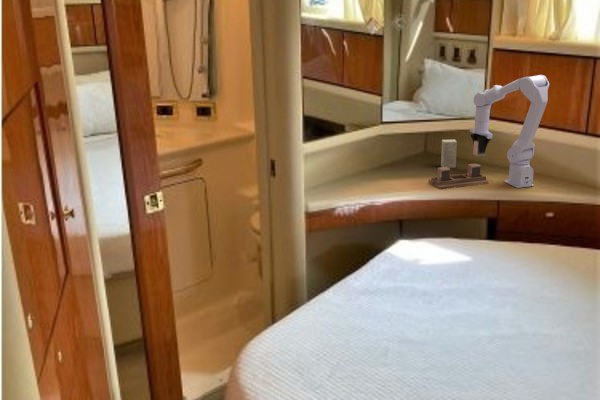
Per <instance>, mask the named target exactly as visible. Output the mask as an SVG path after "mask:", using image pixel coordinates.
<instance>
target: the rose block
mask: <svg viewBox="0 0 600 400" xmlns="http://www.w3.org/2000/svg"><path fill="white" fill-rule="evenodd" d="M486 150H487V149H486ZM486 150H485V152H484V153H480V151H479V141H478V140H477V141H474V144H473V152H472V153H473V154H472V155H474V156H476V157H477V156H478V157H479V156H486Z"/></svg>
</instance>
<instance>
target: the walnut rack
mask: <svg viewBox="0 0 600 400" xmlns="http://www.w3.org/2000/svg"><path fill="white" fill-rule="evenodd" d="M436 174H437V176H435V177H431V178H430V179H429V180H428V183H429V184H430V185H432V186H433V187H436V188H437V189H439V190H447V188H448V189H455V188H454V187H456V188H462V187H463V188H464V187H471V186H472V187H473V186H479V184H481V185H488V184H489V180H487V176H485V175H484V174H482V173H481V164H478V163H470V164H467V173H461V174H452V175H451V168H448V167H442V166H440V167H437V173H436Z"/></svg>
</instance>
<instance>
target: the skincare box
mask: <svg viewBox="0 0 600 400" xmlns="http://www.w3.org/2000/svg"><path fill="white" fill-rule="evenodd" d="M457 143H458V141H457V140H456V139H441V156H440V157H441V158H440V167H448V168H450V169H451V168H452V169H453V168H456V166H457V165H456V164H457V147H458V145H457Z"/></svg>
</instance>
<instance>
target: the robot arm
mask: <svg viewBox="0 0 600 400" xmlns="http://www.w3.org/2000/svg"><path fill="white" fill-rule="evenodd" d="M549 87H550V82H549V80H548V78H547V76H546V75H543V74H538V75H533V76H524V77H521V78H518V79H516V80H513V81H512V82H510V83H507V84H505V85H503V86H502V85H501V84H499V85H498V84H495V85H493V86H492V87H491V88H490V89H484V91H483V92H476V94H475V95H474V96H473V103H474V105H475V113H474V114H475V116H474V127H475V128H474V129H470V128H469V132H470V133H471V134H470V137H471V138H470V139H472V144H473V145H474V141H477V140H478V141H479V151H480V153H484V152H485V150H487V147H488V145H489V143H490V141H491V140H493V136H494V134H493V132H490V131H489V123H490V112H491V108H492V105H493V104H494V103H495V102H498V101H500V100H503V99H504V98H505V97H506V95H507V94H510V93H512V92H515V91H520V92H521V93H522V94H523V95H524V96H525V97H526V98H527V100H528V101H530V106H529V108H528V112H527V114H526V117H525V118H524V122H523V124H522V128H521V130H520V133H519V135H518V139H516V140H515V141H514V143H512V145H511V147H510V148H508V150H507V153H506V158H507V160H508V163H509V171H508V173H509V174H508V179H504V180H503V182H504V183H505V184H508V185H511V186H512V187H515V188H517V189H519V188H527V187H534V186H535V184H533V181H534V169H533V167H532V166H530V163H531V160H532V159H533V157H534V156H535V147H536V145H535V143H534V142H533V141H534V139H535V136H536V133H537V130H538V129H539V126H540V123H541V120H542V118H543V116H544V113H545V111H546V107H547V105H548V100H549V99H548V97H549V96H548V94H549V93H548V91H549ZM485 153H486V152H485Z"/></svg>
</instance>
